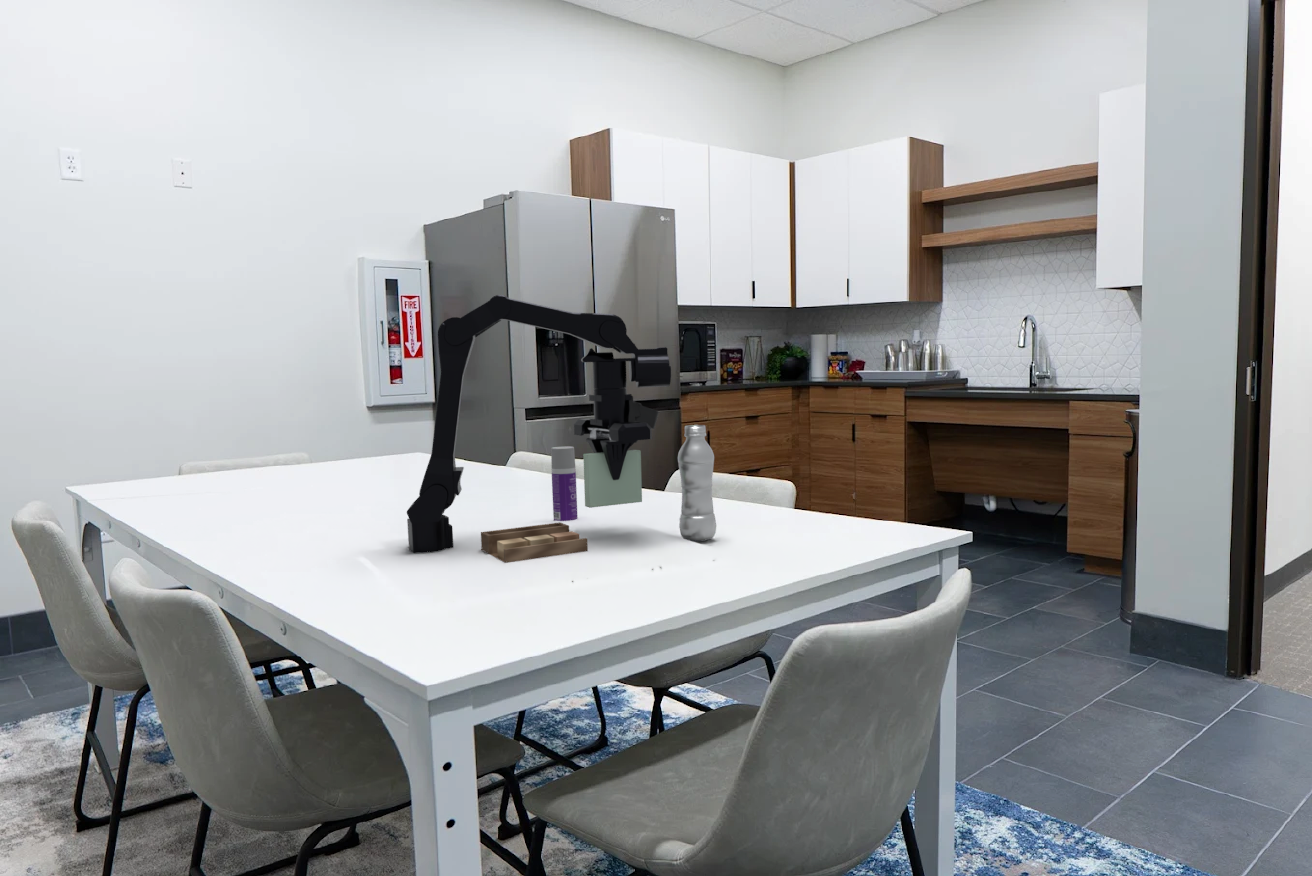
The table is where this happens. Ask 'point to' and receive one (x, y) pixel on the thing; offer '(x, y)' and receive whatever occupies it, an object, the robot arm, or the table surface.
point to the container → (564, 483)
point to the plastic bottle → (696, 486)
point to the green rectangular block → (604, 487)
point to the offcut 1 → (510, 545)
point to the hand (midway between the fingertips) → (612, 479)
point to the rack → (532, 551)
